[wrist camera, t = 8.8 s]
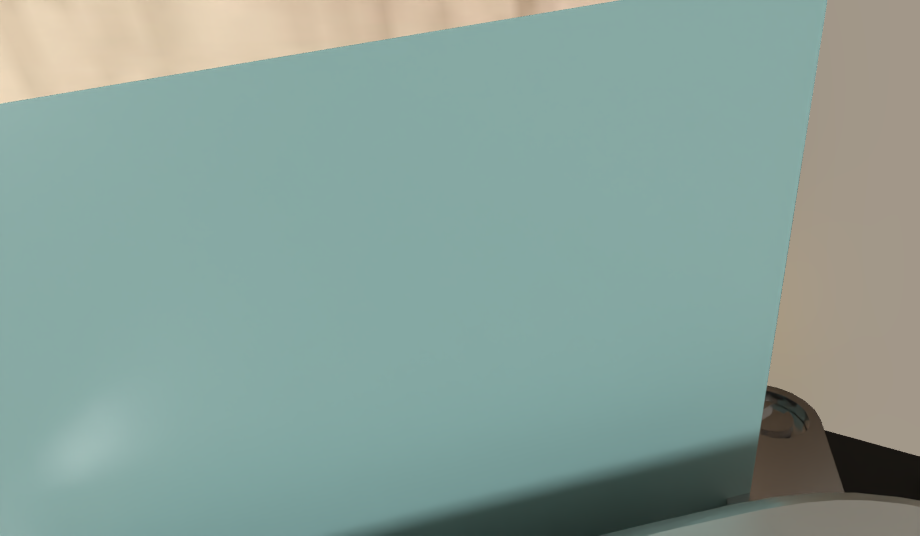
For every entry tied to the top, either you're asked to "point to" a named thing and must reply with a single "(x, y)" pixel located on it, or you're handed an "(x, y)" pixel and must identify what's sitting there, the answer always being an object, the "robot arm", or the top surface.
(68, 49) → the top surface
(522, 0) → the top surface
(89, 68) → the top surface
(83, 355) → the teal rectangular block
